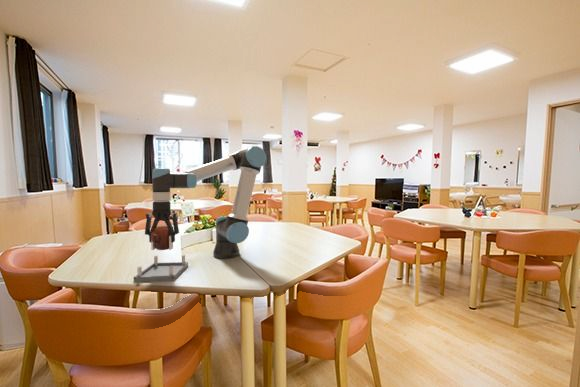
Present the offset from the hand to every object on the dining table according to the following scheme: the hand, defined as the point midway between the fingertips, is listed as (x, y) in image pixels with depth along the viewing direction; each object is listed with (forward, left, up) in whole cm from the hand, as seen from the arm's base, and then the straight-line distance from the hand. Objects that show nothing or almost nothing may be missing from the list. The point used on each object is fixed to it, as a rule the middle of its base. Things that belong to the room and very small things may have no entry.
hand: (162, 249), depth 124 cm
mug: (0, 0, 0) cm, 1 cm away
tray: (0, 0, -12) cm, 12 cm away
